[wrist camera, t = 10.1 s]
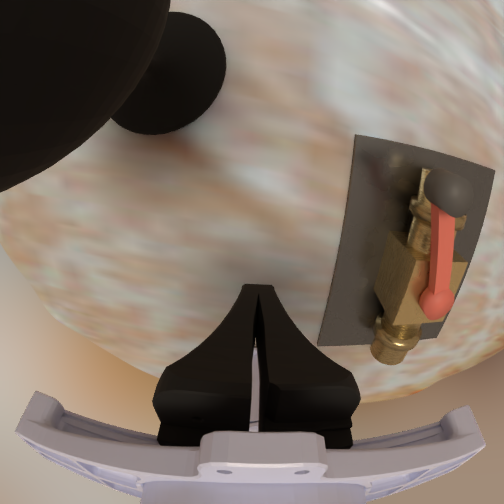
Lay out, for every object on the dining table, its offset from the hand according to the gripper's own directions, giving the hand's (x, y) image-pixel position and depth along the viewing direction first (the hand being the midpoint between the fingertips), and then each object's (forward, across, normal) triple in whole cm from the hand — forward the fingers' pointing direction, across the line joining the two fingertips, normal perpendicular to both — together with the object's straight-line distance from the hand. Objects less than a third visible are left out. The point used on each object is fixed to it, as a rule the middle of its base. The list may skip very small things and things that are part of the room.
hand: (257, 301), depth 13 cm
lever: (+4, -13, -1) cm, 13 cm away
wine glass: (+11, +8, -12) cm, 18 cm away
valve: (+10, -14, +3) cm, 18 cm away
